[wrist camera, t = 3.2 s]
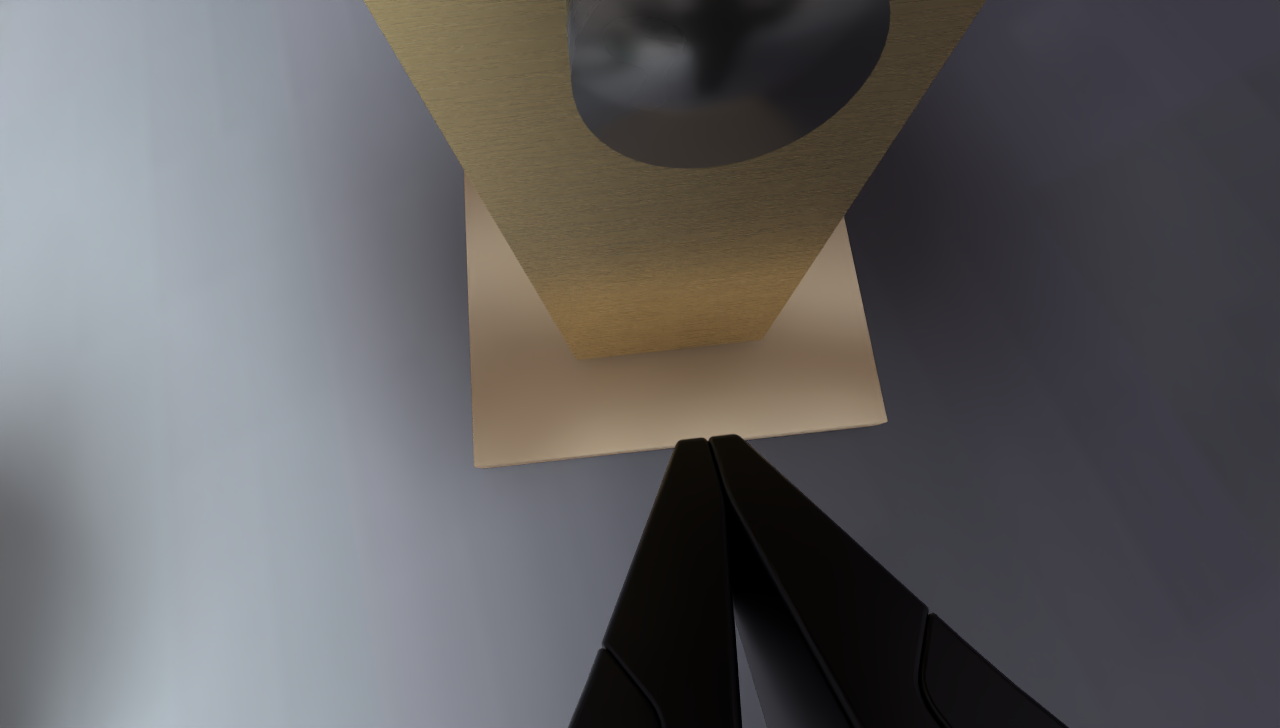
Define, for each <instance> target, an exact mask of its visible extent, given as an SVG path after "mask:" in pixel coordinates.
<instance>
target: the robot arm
mask: <svg viewBox="0 0 1280 728" xmlns="http://www.w3.org/2000/svg"><path fill="white" fill-rule="evenodd" d="M928 613H929V609H928V607H927V606H926V605H925V604H924V603H923V602H921V601H920V600H919V599H918V598H917V597H916V596H915V595H914V594H913V593H912V592H910V591H909V590H908V589H907V588H906V587H905V586H904V585H903V584H902V583H901V582H900V581H898V580H897V579H896V578H895V577H894V576H893V575H892V574H891V573H890V572H889V571H887V570H886V569H885V568H884V567H883V566H882V565H881V564H880V563H879V562H878V561H876V560H875V559H874V558H873V557H872V556H871V555H870V554H869V553H868V552H867V551H865V550H864V549H863V548H862V547H861V546H860V545H859V544H858V543H857V542H856V541H855V540H853V539H852V538H851V537H850V536H849V535H848V534H847V533H846V532H845V531H844V530H842V529H841V528H840V527H839V526H838V525H837V524H836V523H835V522H834V521H833V520H831V519H830V518H829V517H828V516H827V515H826V514H825V513H824V512H823V511H822V510H821V509H819V508H818V507H817V506H816V505H815V504H814V503H813V502H812V501H811V500H810V499H808V498H807V497H806V496H805V495H804V494H803V493H802V492H801V491H800V490H799V489H797V488H796V487H795V486H794V485H793V484H792V483H791V482H790V481H789V480H788V479H786V478H785V477H784V476H783V475H782V474H781V473H780V472H779V471H778V470H777V469H776V468H774V467H773V466H772V465H771V464H770V463H769V462H768V461H767V460H766V459H765V458H763V457H762V456H761V455H760V454H759V453H758V452H757V451H756V450H755V449H754V448H752V447H751V446H750V445H749V444H748V443H747V442H746V441H745V440H744V439H743V438H742V437H740V436H739V435H737V434H728V435H719V436H712V437H710V438H709V440H708V441H707V440H706V439H705V438H703V437H700V438H691V439H682V440H679V441H678V442H677V443H676V445H675V448H674V451H673V453H672V456H671V459H670V461H669V464H668V467H667V469H666V472H665V475H664V477H663V480H662V483H661V485H660V488H659V491H658V494H657V496H656V499H655V502H654V504H653V507H652V510H651V512H650V515H649V518H648V520H647V523H646V526H645V528H644V531H643V534H642V536H641V539H640V542H639V544H638V547H637V550H636V552H635V555H634V558H633V560H632V563H631V566H630V568H629V571H628V574H627V576H626V579H625V582H624V584H623V587H622V590H621V592H620V595H619V598H618V600H617V603H616V606H615V608H614V611H613V614H612V616H611V619H610V622H609V625H608V627H607V630H606V633H605V635H604V638H603V641H602V648H601V649H599V651H598V653H597V656H596V658H595V661H594V664H593V666H592V669H591V672H590V674H589V677H588V680H587V682H586V685H585V687H584V689H583V692H582V694H581V697H580V699H579V702H578V704H577V707H576V709H575V711H574V714H573V716H572V719H571V721H570V724H569V726H568V728H742V718H741V704H740V690H739V676H738V662H737V649H736V635H735V621H736V624H737V628H738V631H739V634H740V638H741V641H742V644H743V648H744V651H745V654H746V658H747V661H748V664H749V668H750V671H751V674H752V678H753V681H754V684H755V688H756V691H757V694H758V698H759V701H760V704H761V708H762V711H763V714H764V718H765V721H766V724H767V728H1069V727H1067V726H1066V725H1065V724H1064V723H1062V722H1061V721H1060V720H1059V719H1057V718H1056V717H1055V716H1054V715H1052V714H1051V713H1050V712H1049V711H1047V710H1046V709H1045V708H1044V707H1042V706H1041V705H1040V704H1039V703H1038V702H1036V701H1035V700H1034V699H1033V698H1031V697H1030V696H1029V695H1028V694H1026V693H1025V692H1024V691H1023V690H1021V689H1020V688H1019V687H1018V686H1016V685H1015V684H1014V683H1013V682H1012V681H1011V680H1009V679H1008V678H1007V677H1006V676H1005V675H1004V674H1002V673H1001V672H1000V671H999V670H998V669H997V668H996V667H994V666H993V665H992V664H991V663H990V662H989V661H988V660H986V659H985V658H984V657H983V656H982V655H981V654H980V653H978V652H977V651H976V650H975V649H974V648H973V647H972V646H970V645H969V644H968V643H967V642H966V641H965V640H964V639H962V638H961V637H960V636H959V635H958V634H957V633H956V632H955V631H954V630H953V629H951V628H950V627H949V626H948V625H947V624H946V623H945V622H944V621H943V620H942V619H940V618H939V617H938V616H937V615H936V614H934V613H930V614H929V615H928ZM734 618H735V621H734Z"/></svg>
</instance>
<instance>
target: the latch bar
mask: <svg viewBox="0 0 1280 728" xmlns="http://www.w3.org/2000/svg"><path fill="white" fill-rule="evenodd" d="M985 1H986V0H364V2H365V3H366V5H367V7H368V8H369V10H370V12H371V14H372V15H373V17H374V19H375V20H376V22H377V24H378V25H379V27H380V29H381V30H382V32H383V34H384V35H385V37H386V39H387V41H388V42H389V44H390V46H391V47H392V49H393V51H394V52H395V54H396V56H397V57H398V59H399V61H400V62H401V64H402V66H403V68H404V69H405V71H406V73H407V74H408V76H409V78H410V79H411V81H412V83H413V84H414V86H415V88H416V89H417V91H418V93H419V95H420V96H421V98H422V100H423V101H424V103H425V105H426V106H427V108H428V110H429V111H430V113H431V115H432V116H433V118H434V120H435V122H436V123H437V125H438V127H439V128H440V130H441V132H442V133H443V135H444V137H445V138H446V140H447V142H448V143H449V145H450V147H451V149H452V150H453V152H454V154H455V155H456V157H457V159H458V160H459V162H460V164H461V165H462V167H463V169H464V170H465V172H466V174H467V176H468V177H469V179H470V181H471V182H472V184H473V186H474V187H475V189H476V191H477V192H478V194H479V196H480V197H481V199H482V201H483V203H484V204H485V206H486V208H487V209H488V211H489V213H490V214H491V216H492V218H493V219H494V221H495V223H496V224H497V226H498V228H499V230H500V231H501V233H502V235H503V236H504V238H505V240H506V241H507V243H508V245H509V246H510V248H511V250H512V251H513V253H514V255H515V257H516V258H517V260H518V262H519V263H520V265H521V267H522V268H523V270H524V272H525V273H526V275H527V277H528V278H529V280H530V282H531V283H532V285H533V287H534V289H535V290H536V292H537V294H538V295H539V297H540V299H541V300H542V302H543V304H544V305H545V307H546V309H547V310H548V312H549V314H550V316H551V317H552V319H553V321H554V322H555V324H556V326H557V327H558V329H559V331H560V332H561V334H562V336H563V337H564V339H565V341H566V343H567V344H568V346H569V348H570V349H571V351H572V353H573V354H574V356H575V358H576V359H577V360H583V359H592V358H601V357H610V356H619V355H628V354H637V353H646V352H655V351H664V350H673V349H682V348H691V347H700V346H709V345H718V344H727V343H737V342H746V341H755V340H762V339H763V338H764V336H765V335H766V333H767V332H768V330H769V329H770V327H771V326H772V324H773V323H774V321H775V320H776V318H777V317H778V315H779V314H780V312H781V310H782V309H783V307H784V306H785V304H786V303H787V301H788V300H789V298H790V297H791V295H792V294H793V292H794V291H795V289H796V288H797V286H798V285H799V283H800V282H801V280H802V279H803V277H804V276H805V274H806V273H807V271H808V270H809V268H810V267H811V265H812V263H813V262H814V260H815V259H816V257H817V256H818V254H819V253H820V251H821V250H822V248H823V247H824V245H825V244H826V242H827V241H828V239H829V238H830V236H831V235H832V233H833V232H834V230H835V229H836V227H837V226H838V224H839V223H840V221H841V220H842V218H843V216H844V215H845V213H846V212H847V210H848V209H849V207H850V206H851V204H852V203H853V201H854V200H855V198H856V197H857V195H858V194H859V192H860V191H861V189H862V188H863V186H864V185H865V183H866V182H867V180H868V179H869V177H870V176H871V174H872V173H873V171H874V169H875V168H876V166H877V165H878V163H879V162H880V160H881V159H882V157H883V156H884V154H885V153H886V151H887V150H888V148H889V147H890V145H891V144H892V142H893V141H894V139H895V138H896V136H897V135H898V133H899V132H900V130H901V129H902V127H903V126H904V124H905V122H906V121H907V119H908V118H909V116H910V115H911V113H912V112H913V110H914V109H915V107H916V106H917V104H918V103H919V101H920V100H921V98H922V97H923V95H924V94H925V92H926V91H927V89H928V88H929V86H930V85H931V83H932V82H933V80H934V79H935V77H936V75H937V74H938V72H939V71H940V69H941V68H942V66H943V65H944V63H945V62H946V60H947V59H948V57H949V56H950V54H951V53H952V51H953V50H954V48H955V47H956V45H957V44H958V42H959V41H960V39H961V38H962V36H963V35H964V33H965V31H966V30H967V28H968V27H969V25H970V24H971V22H972V21H973V19H974V18H975V16H976V15H977V13H978V12H979V10H980V9H981V7H982V6H983V4H984V3H985Z"/></svg>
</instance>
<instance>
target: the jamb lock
mask: <svg viewBox="0 0 1280 728" xmlns="http://www.w3.org/2000/svg"><path fill="white" fill-rule="evenodd" d="M464 187H465V216H466V245H467V274H468V303H469V332H470V362H471V391H472V420H473V449H474V467H477V468H483V469H484V468H494V467H503V466H512V465H521V464H530V463H539V462H548V461H558V460H567V459H576V458H585V457H594V456H603V455H612V454H622V453H631V452H640V451H649V450H658V449H667V448H675V445H676V443H677V442H678V441H679V440H682V439H691V438H700V437H703V438H705V439H706V440H707V441H708V440H709V438H710V437H712V436H719V435H728V434H737V435H739V436H740V437H742V438H743V439H744V440H749V439H759V438H768V437H777V436H786V435H795V434H804V433H813V432H823V431H832V430H841V429H850V428H859V427H868V426H876V425H879V424H883V423H886V422H887V417H886V412H885V408H884V403H883V398H882V394H881V389H880V384H879V379H878V375H877V370H876V365H875V361H874V356H873V351H872V346H871V342H870V337H869V332H868V328H867V323H866V318H865V314H864V309H863V304H862V299H861V295H860V290H859V285H858V281H857V276H856V271H855V266H854V262H853V257H852V252H851V248H850V243H849V238H848V233H847V229H846V224H845V219H844V216H843V218H842V220H841V221H840V223H839V224H838V226H837V227H836V229H835V230H834V232H833V233H832V235H831V236H830V238H829V239H828V241H827V242H826V244H825V245H824V247H823V248H822V250H821V251H820V253H819V254H818V256H817V257H816V259H815V260H814V262H813V263H812V265H811V267H810V268H809V270H808V271H807V273H806V274H805V276H804V277H803V279H802V280H801V282H800V283H799V285H798V286H797V288H796V289H795V291H794V292H793V294H792V295H791V297H790V298H789V300H788V301H787V303H786V304H785V306H784V307H783V309H782V310H781V312H780V314H779V315H778V317H777V318H776V320H775V321H774V323H773V324H772V326H771V327H770V329H769V330H768V332H767V333H766V335H765V336H764V338H763V339H762V340H755V341H746V342H737V343H727V344H718V345H709V346H700V347H691V348H682V349H673V350H664V351H655V352H646V353H637V354H628V355H619V356H610V357H601V358H592V359H583V360H577V359H576V358H575V356H574V354H573V353H572V351H571V349H570V348H569V346H568V344H567V343H566V341H565V339H564V337H563V336H562V334H561V332H560V331H559V329H558V327H557V326H556V324H555V322H554V321H553V319H552V317H551V316H550V314H549V312H548V310H547V309H546V307H545V305H544V304H543V302H542V300H541V299H540V297H539V295H538V294H537V292H536V290H535V289H534V287H533V285H532V283H531V282H530V280H529V278H528V277H527V275H526V273H525V272H524V270H523V268H522V267H521V265H520V263H519V262H518V260H517V258H516V257H515V255H514V253H513V251H512V250H511V248H510V246H509V245H508V243H507V241H506V240H505V238H504V236H503V235H502V233H501V231H500V230H499V228H498V226H497V224H496V223H495V221H494V219H493V218H492V216H491V214H490V213H489V211H488V209H487V208H486V206H485V204H484V203H483V201H482V199H481V197H480V196H479V194H478V192H477V191H476V189H475V187H474V186H473V184H472V182H471V181H470V179H469V177H468V176H467V174H466V172H465V170H464Z"/></svg>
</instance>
